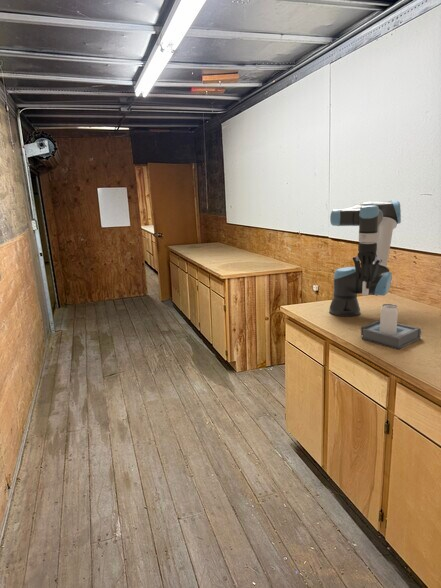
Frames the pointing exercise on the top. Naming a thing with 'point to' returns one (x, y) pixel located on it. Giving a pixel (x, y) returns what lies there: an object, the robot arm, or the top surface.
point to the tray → (376, 327)
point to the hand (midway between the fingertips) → (365, 295)
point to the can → (389, 319)
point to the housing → (393, 337)
